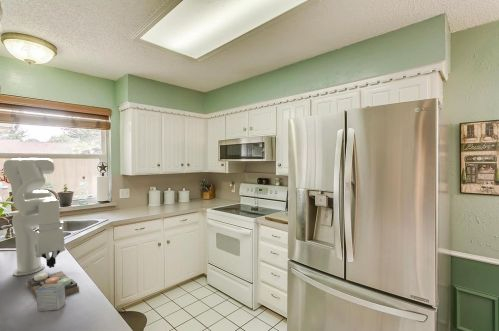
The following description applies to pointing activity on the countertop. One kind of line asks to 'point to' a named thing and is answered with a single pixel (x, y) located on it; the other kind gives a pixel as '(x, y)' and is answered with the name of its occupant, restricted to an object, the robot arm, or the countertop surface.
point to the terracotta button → (52, 280)
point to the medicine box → (50, 297)
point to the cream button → (40, 277)
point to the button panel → (61, 275)
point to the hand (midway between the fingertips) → (51, 266)
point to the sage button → (65, 281)
